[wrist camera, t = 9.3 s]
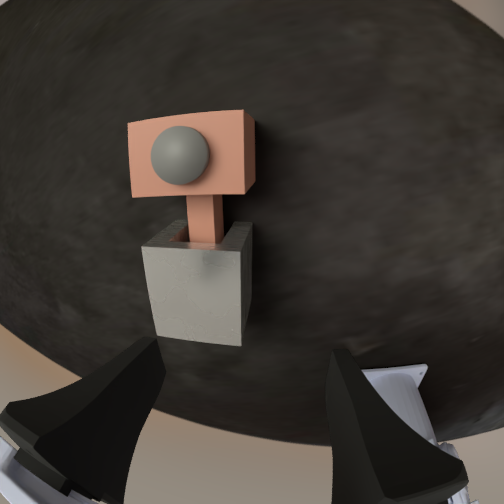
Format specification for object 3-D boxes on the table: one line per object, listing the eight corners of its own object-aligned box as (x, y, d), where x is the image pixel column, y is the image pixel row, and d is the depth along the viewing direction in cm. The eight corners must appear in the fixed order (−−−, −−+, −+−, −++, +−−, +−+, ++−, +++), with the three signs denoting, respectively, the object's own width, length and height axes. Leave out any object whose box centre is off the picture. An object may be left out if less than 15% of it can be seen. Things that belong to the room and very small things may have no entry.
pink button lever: (256, 313, 21) (247, 364, 16) (182, 308, 22) (157, 353, 17) (254, 120, 16) (241, 108, 11) (165, 126, 17) (121, 122, 11)
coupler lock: (251, 299, 21) (241, 346, 16) (183, 293, 21) (157, 335, 16) (252, 222, 18) (240, 251, 14) (176, 219, 19) (141, 246, 14)
